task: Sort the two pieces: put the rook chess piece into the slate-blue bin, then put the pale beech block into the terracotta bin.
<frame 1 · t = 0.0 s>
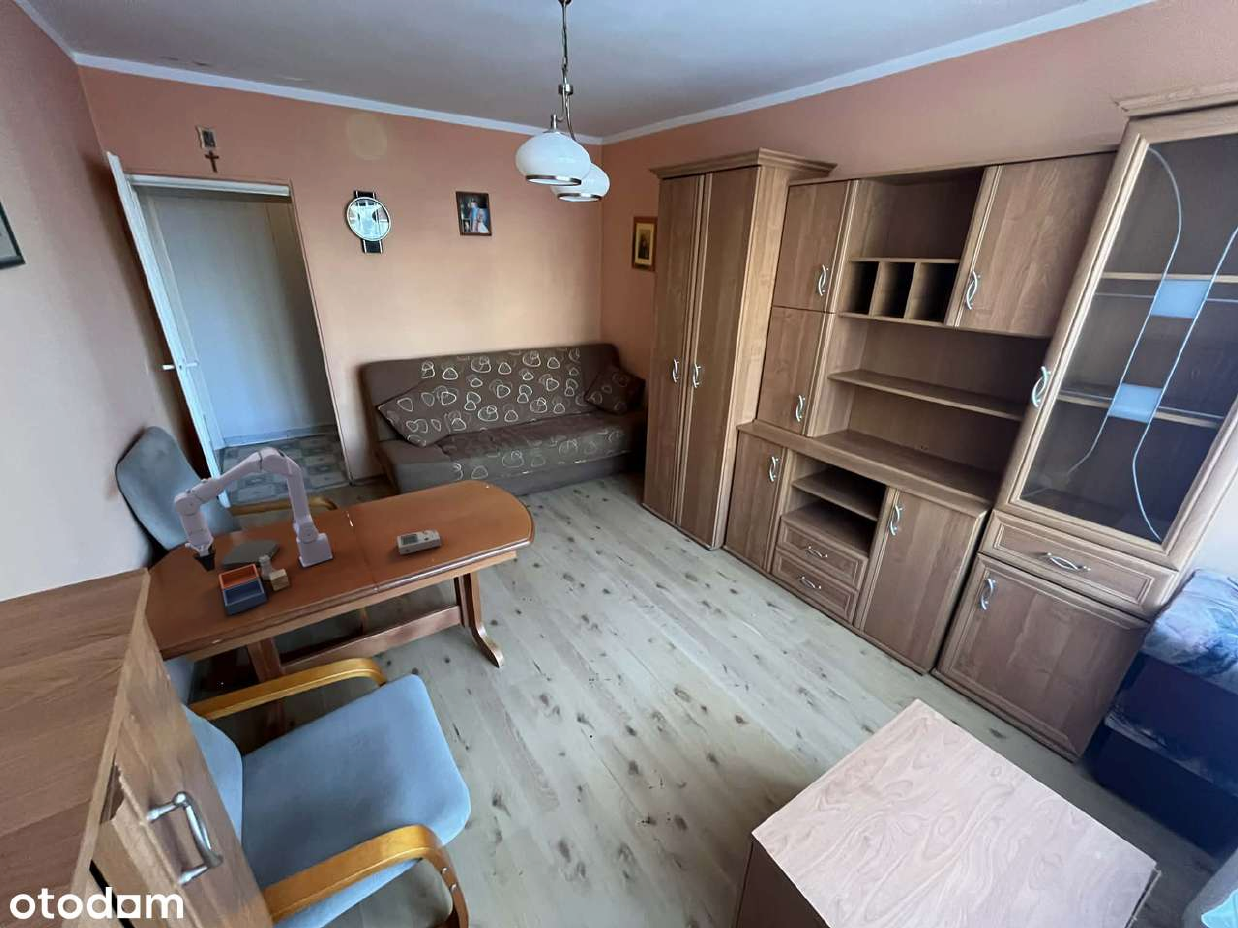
hand: (210, 564, 164), 10 cm above the table, tool pointing down, fingers open, 7 cm apart
beech block: (281, 585, 170), on the table
terracotta bin: (241, 584, 171), on the table
rook chess piece: (270, 577, 175), on the table
handheld gaming device: (419, 546, 193), on the table
blue bin: (246, 600, 163), on the table
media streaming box: (252, 557, 185), on the table
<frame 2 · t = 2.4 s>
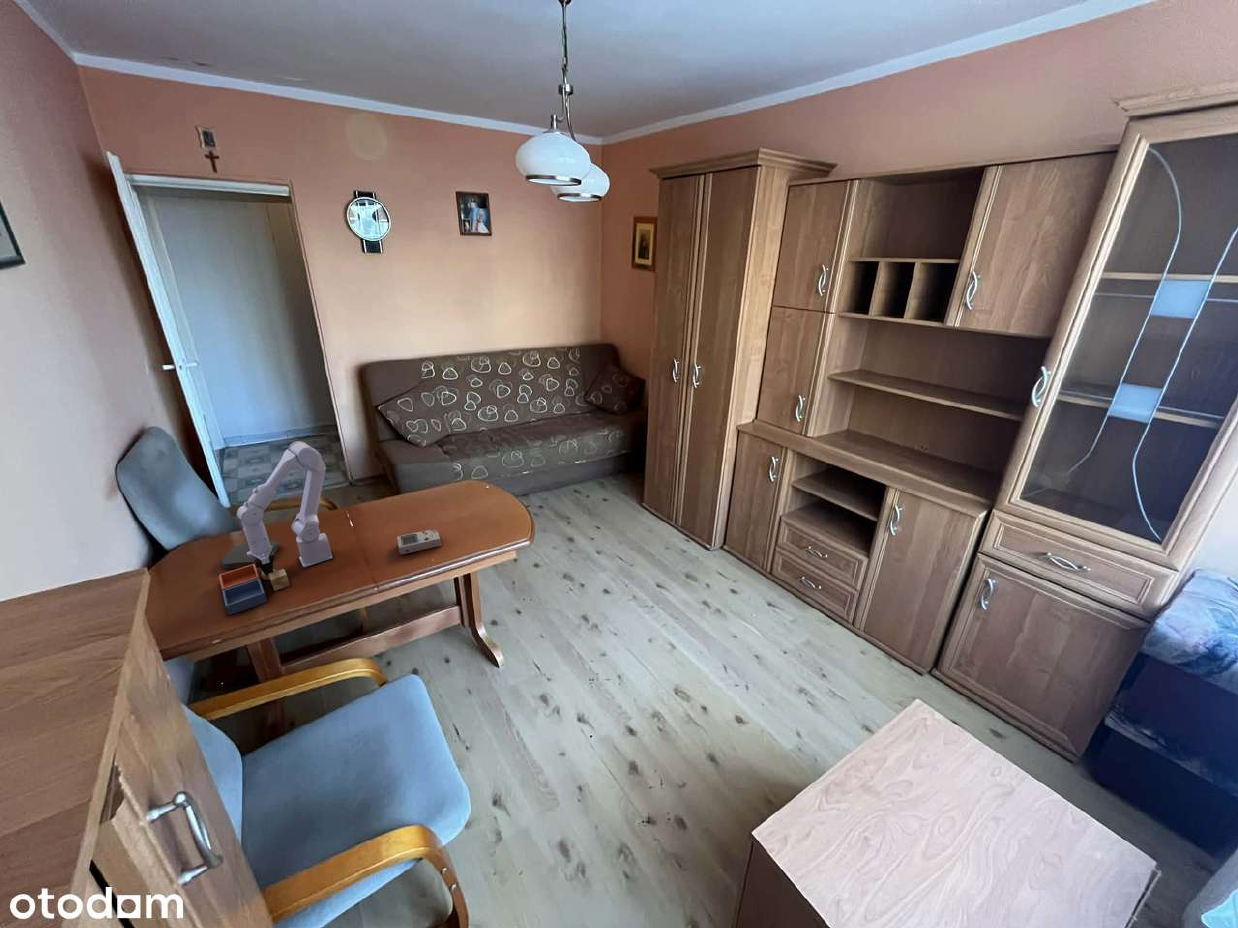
hand: (268, 571, 174), 2 cm above the table, tool pointing down, fingers closed on rook chess piece, 3 cm apart
rook chess piece: (270, 577, 175), on the table, touching gripper
everything else where it was.
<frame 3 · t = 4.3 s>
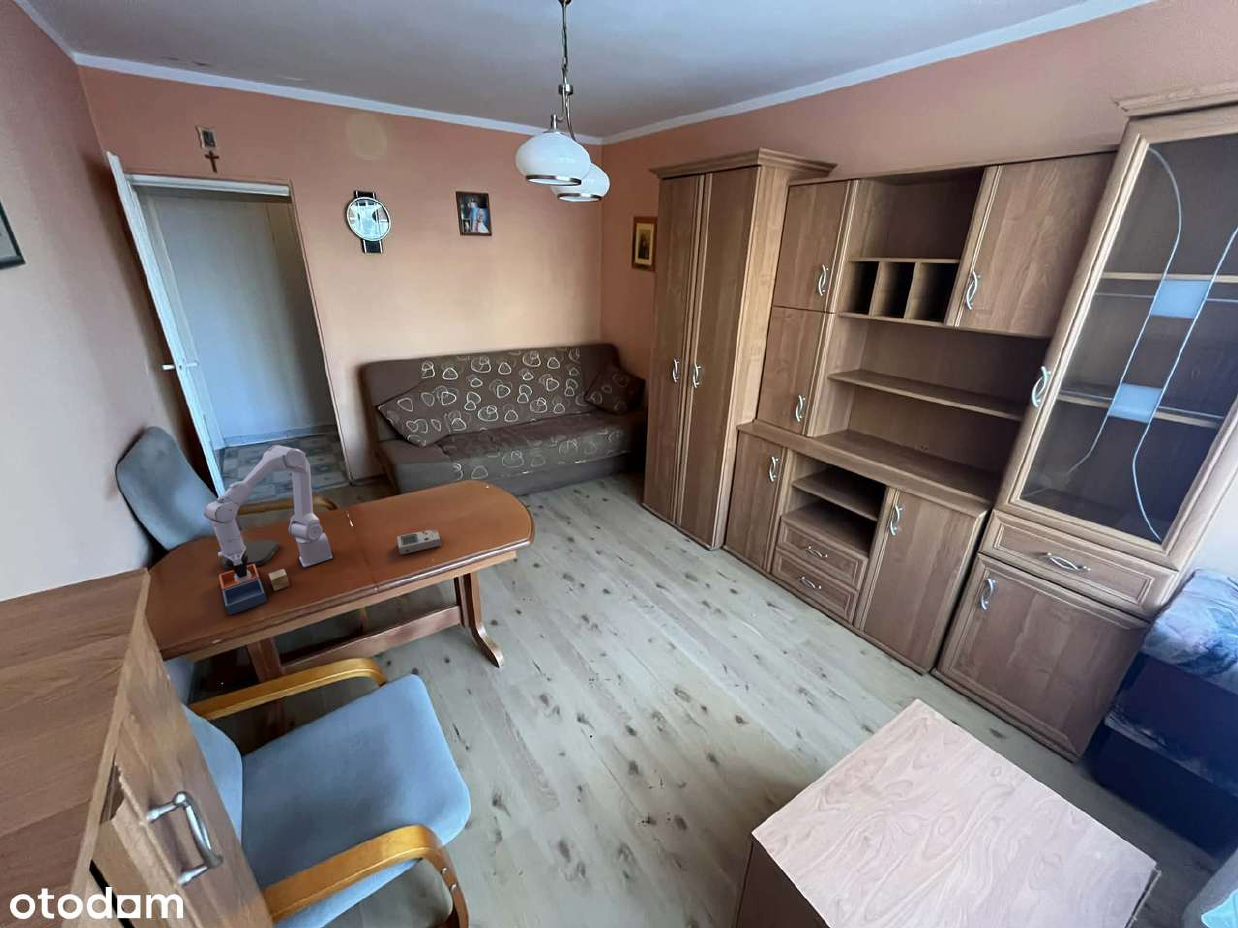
hand: (242, 573, 161), 9 cm above the table, tool pointing down, fingers closed on rook chess piece, 3 cm apart
rook chess piece: (244, 579, 162), point 7 cm above the table, touching gripper
everything else where it was.
when the fingers open (2 cm above the table, at t = 6.4 s): rook chess piece stays where it is, resting on blue bin.
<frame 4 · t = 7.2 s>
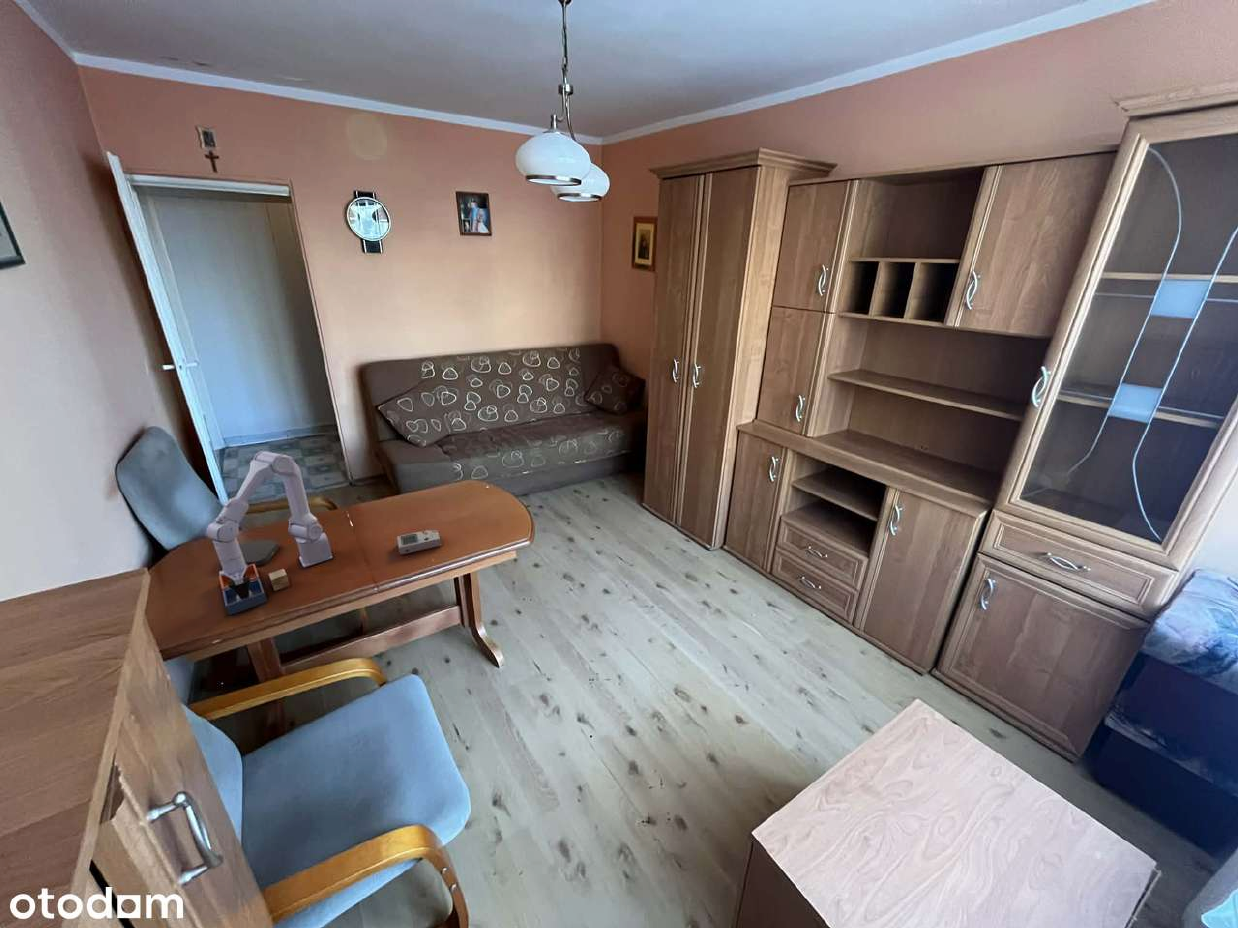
hand: (243, 592, 162), 3 cm above the table, tool pointing down, fingers open, 7 cm apart
rook chess piece: (246, 599, 163), resting on blue bin
everything else where it was.
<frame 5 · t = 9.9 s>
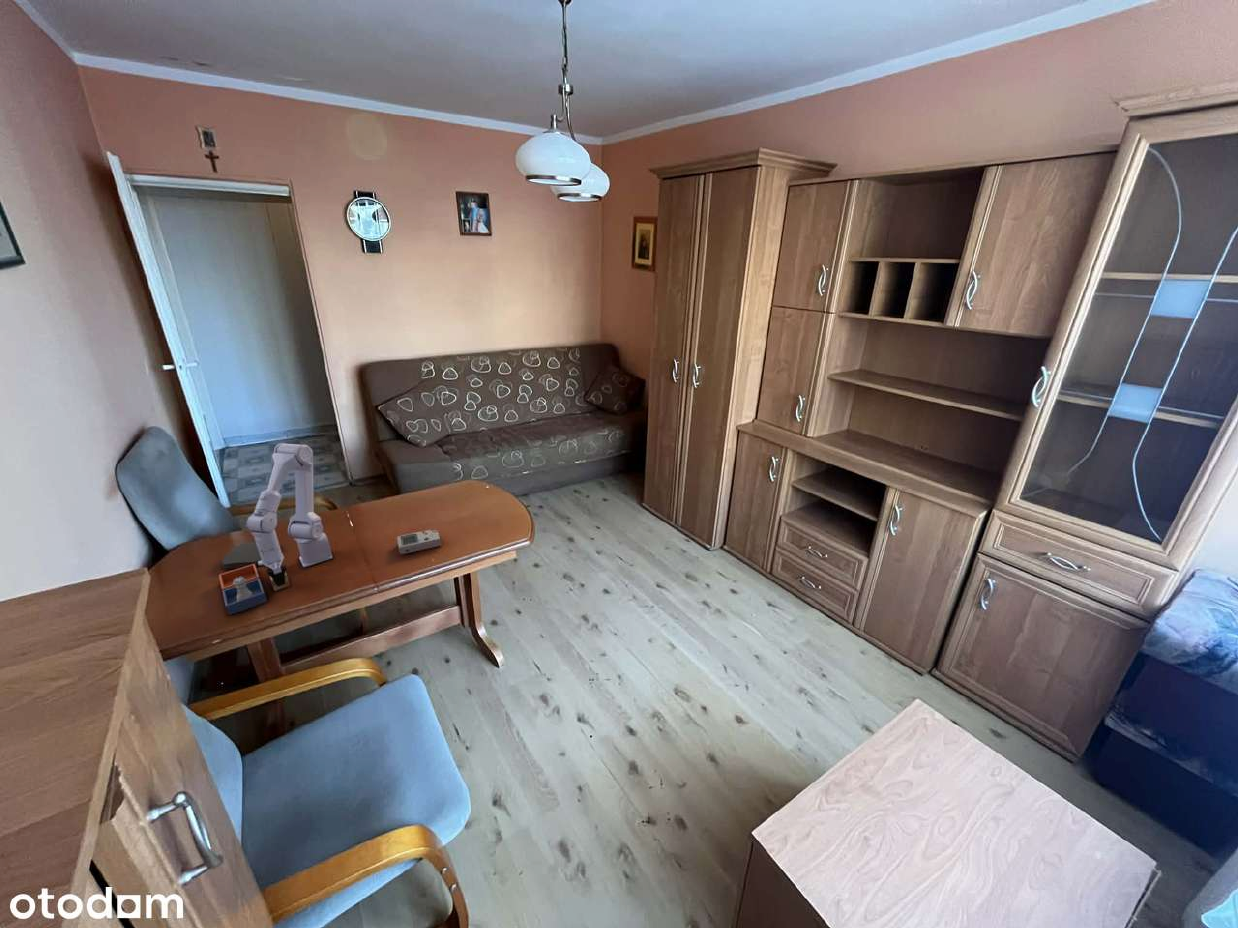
hand: (279, 581, 170), 2 cm above the table, tool pointing down, fingers closed on beech block, 4 cm apart
beech block: (281, 585, 170), on the table, touching gripper
everything else where it was.
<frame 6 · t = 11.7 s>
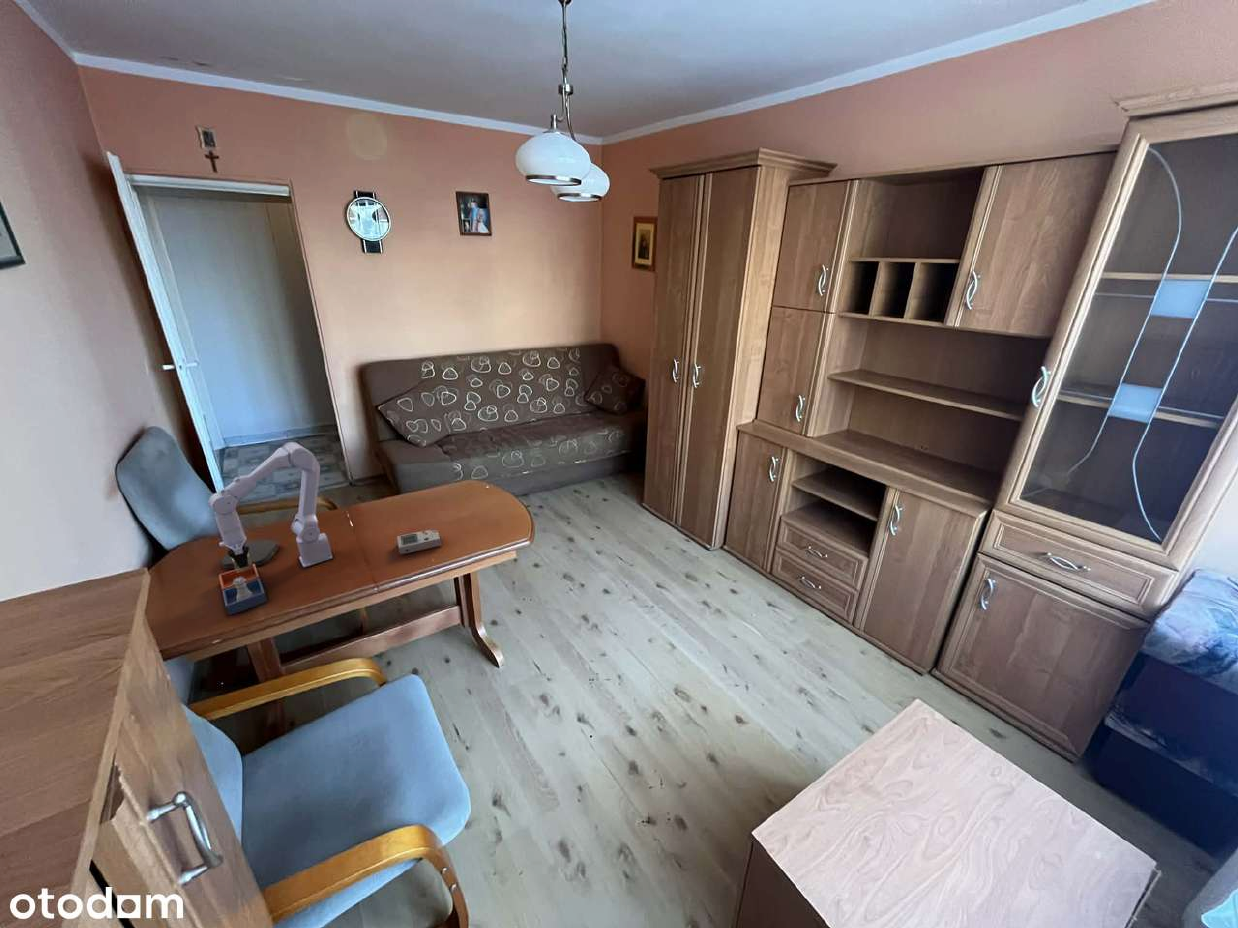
hand: (242, 563, 167), 9 cm above the table, tool pointing down, fingers closed on beech block, 4 cm apart
beech block: (244, 567, 168), point 7 cm above the table, touching gripper
everything else where it was.
when the fingers open (2 cm above the table, at t = 14.0 s): beech block stays where it is, resting on terracotta bin.
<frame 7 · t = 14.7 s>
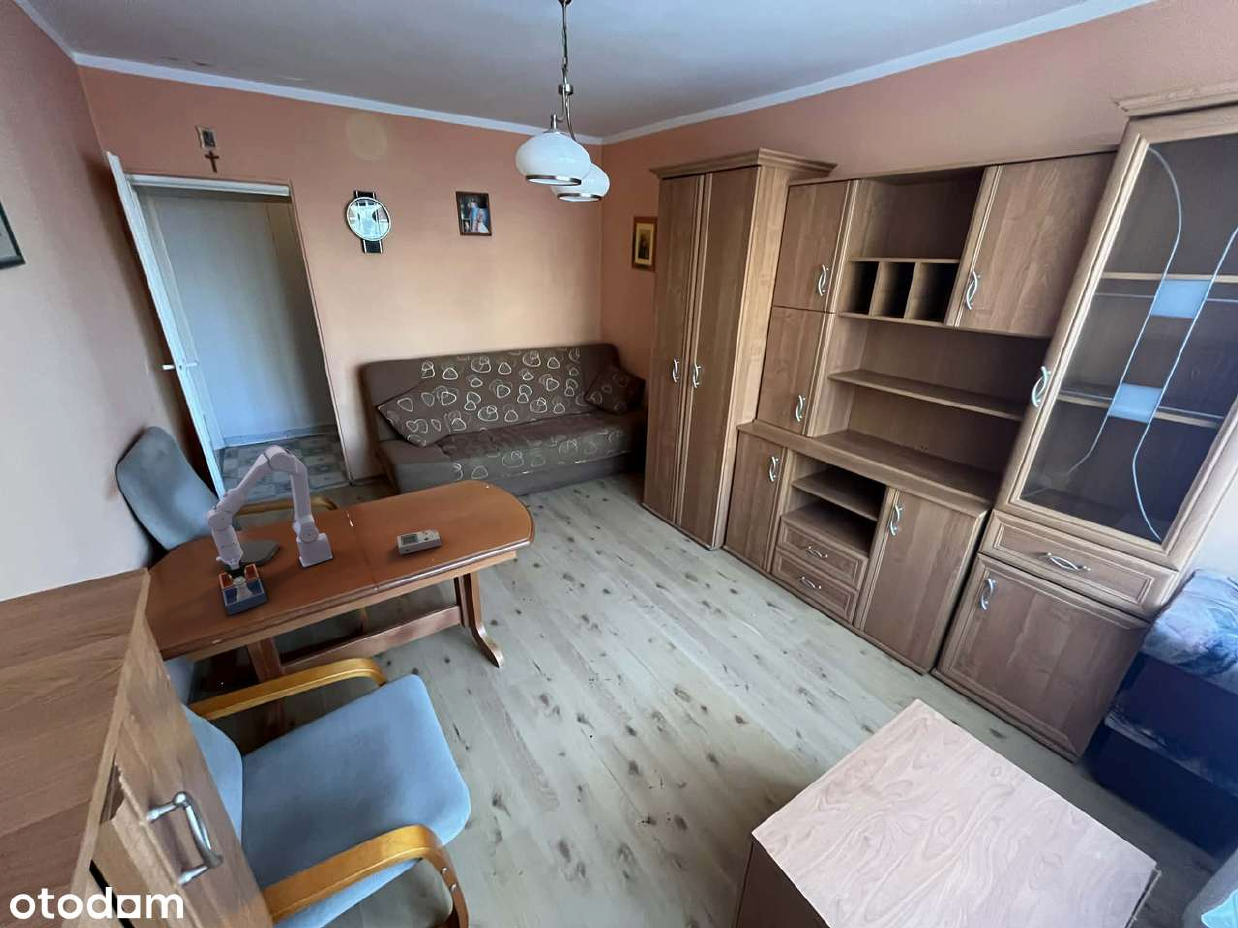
hand: (239, 577, 169), 3 cm above the table, tool pointing down, fingers open, 7 cm apart
beech block: (241, 583, 170), resting on terracotta bin
everything else where it was.
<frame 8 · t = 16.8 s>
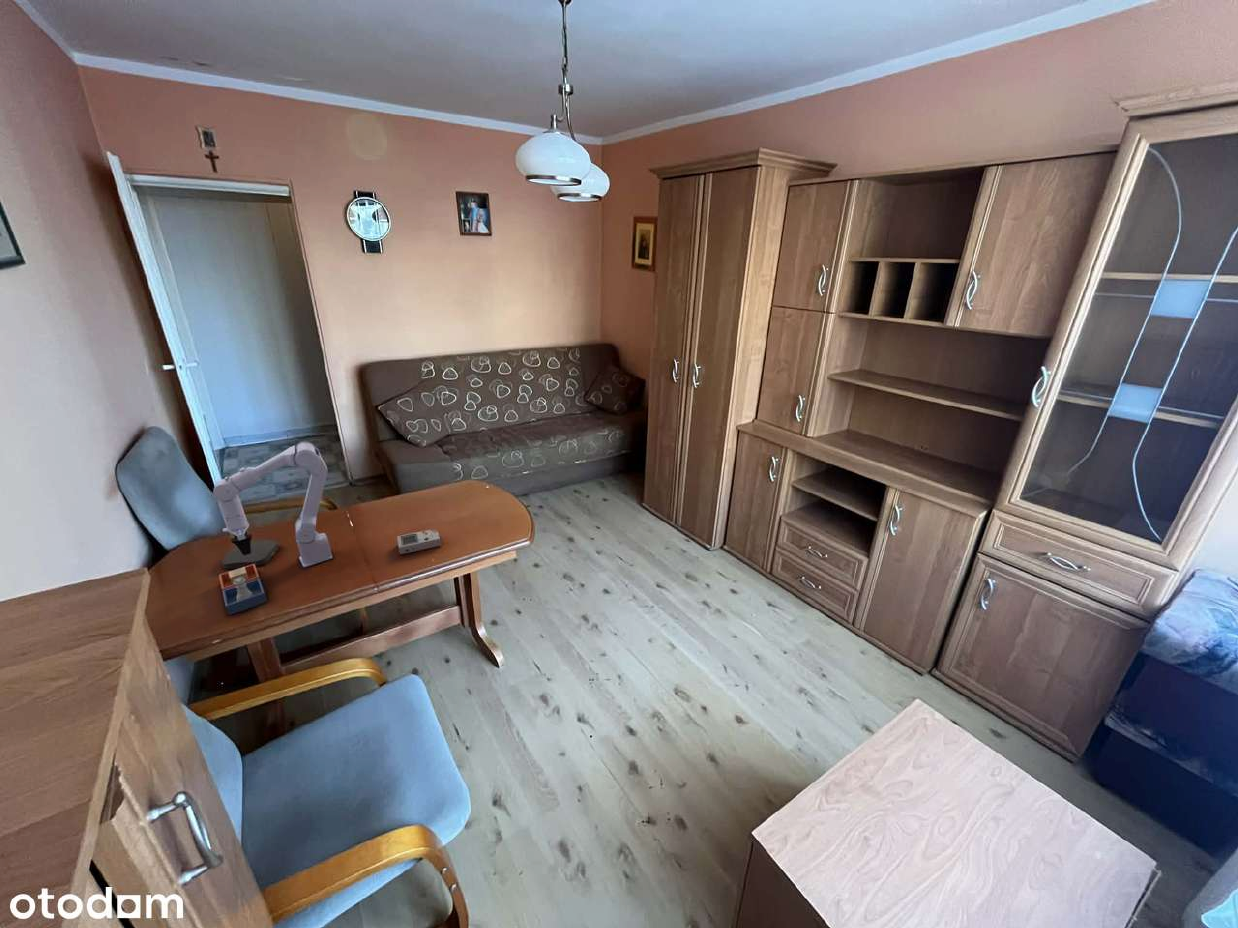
hand: (245, 549, 172), 10 cm above the table, tool pointing down, fingers open, 7 cm apart
nothing on the table moved.
at the end: rook chess piece inside the target area in the blue bin (0.0 cm from its centre), point 0.3 cm above the blue bin's base; rook chess piece tilted 0°; beech block inside the target area in the terracotta bin (0.1 cm from its centre), point 0.5 cm above the terracotta bin's base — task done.
